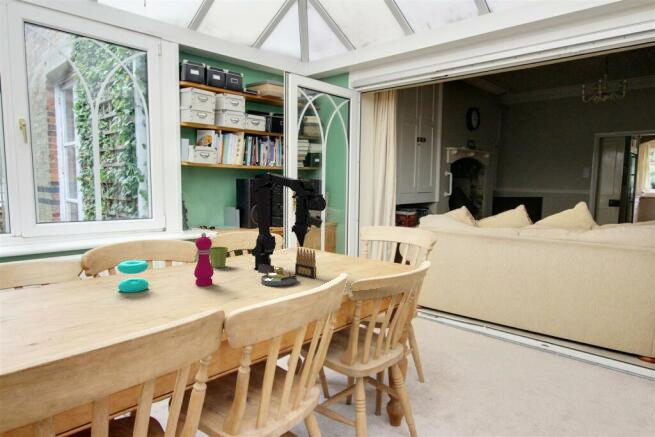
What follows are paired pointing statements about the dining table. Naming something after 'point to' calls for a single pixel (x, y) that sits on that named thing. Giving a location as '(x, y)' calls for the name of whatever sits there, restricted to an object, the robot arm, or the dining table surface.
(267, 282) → the base
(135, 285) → the donuts
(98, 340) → the dining table surface
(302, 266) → the ammunition clip
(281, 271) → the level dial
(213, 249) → the plant pot
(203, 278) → the pepper mill
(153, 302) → the dining table surface
